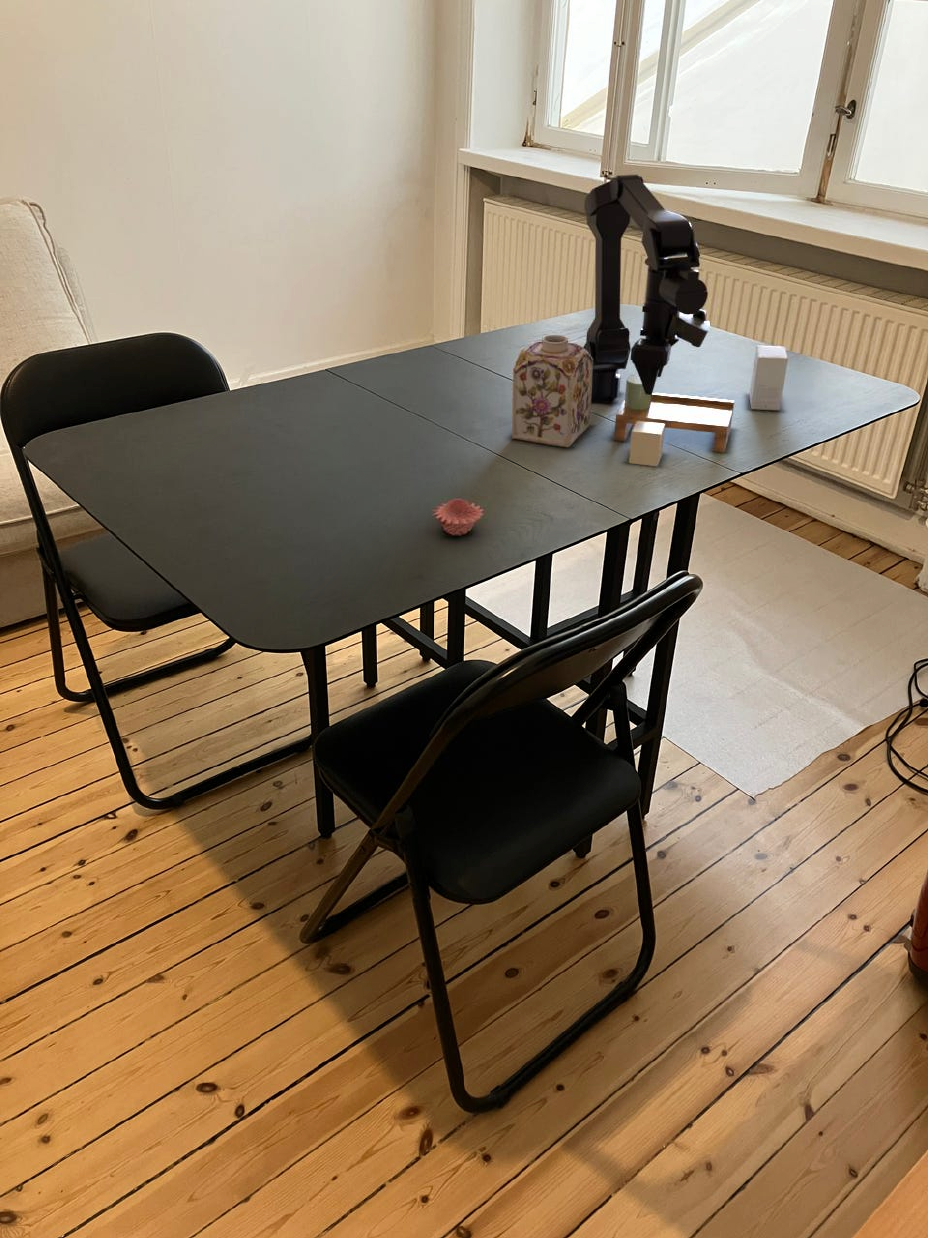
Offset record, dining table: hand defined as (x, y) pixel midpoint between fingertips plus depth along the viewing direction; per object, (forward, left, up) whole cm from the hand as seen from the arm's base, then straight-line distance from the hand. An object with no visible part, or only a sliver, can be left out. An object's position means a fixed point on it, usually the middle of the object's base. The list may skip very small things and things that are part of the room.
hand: (653, 385), depth 180 cm
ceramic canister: (-3, +4, -5) cm, 7 cm away
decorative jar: (-18, -2, -11) cm, 21 cm away
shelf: (+4, +4, -10) cm, 12 cm away
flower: (-22, -45, -11) cm, 51 cm away
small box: (+19, +25, -11) cm, 33 cm away
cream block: (+1, -9, -10) cm, 14 cm away
